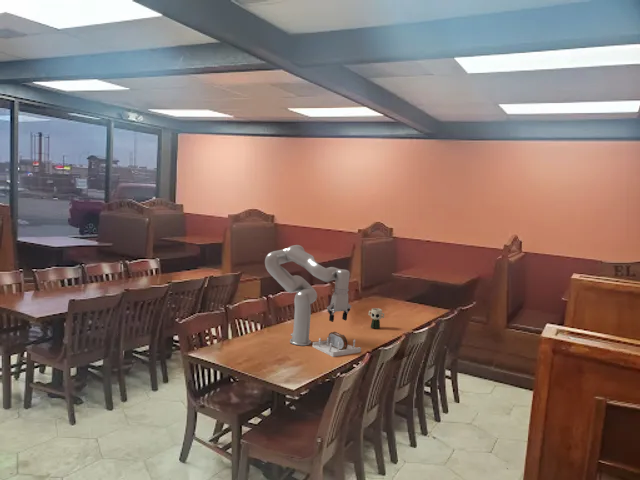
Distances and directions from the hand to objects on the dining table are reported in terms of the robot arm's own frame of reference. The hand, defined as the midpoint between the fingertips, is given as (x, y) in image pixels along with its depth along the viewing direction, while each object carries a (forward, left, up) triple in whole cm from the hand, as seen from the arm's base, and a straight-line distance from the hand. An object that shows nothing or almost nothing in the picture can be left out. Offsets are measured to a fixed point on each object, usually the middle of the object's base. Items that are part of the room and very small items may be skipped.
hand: (337, 320), depth 295 cm
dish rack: (+1, 0, -17) cm, 17 cm away
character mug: (-25, +55, -17) cm, 63 cm away
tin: (+1, 0, -16) cm, 16 cm away
